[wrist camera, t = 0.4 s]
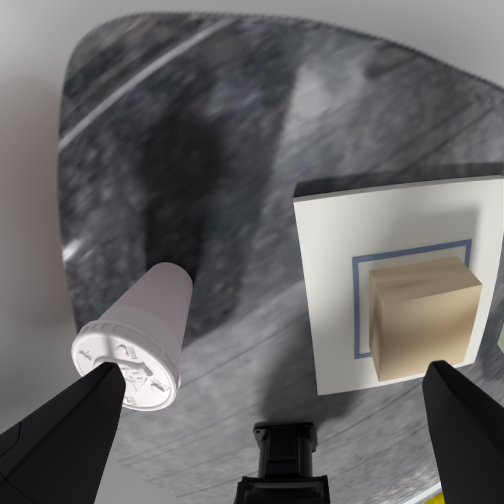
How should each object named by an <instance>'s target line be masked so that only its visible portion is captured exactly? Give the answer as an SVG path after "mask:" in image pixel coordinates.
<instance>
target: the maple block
mask: <svg viewBox="0 0 504 504" xmlns="http://www.w3.org/2000/svg"><path fill="white" fill-rule="evenodd" d="M369 275H370V321H369V348H370V352H371V355H372V359H373V362H374V366H375V370H376V373H377V377H378V381H379V382H383V381H388V380H393V379H398V378H402V377H407V376H412V375H416V374H420V373H424V372H426V371H427V369H428V366H429V364H430V363H431V362H432V361H436V360H445V361H446V362H448V363H449V364H450V365H451V366H452V365H455V364H459V363H462V362H464V358H465V355H466V352H467V348H468V345H469V341H470V338H471V334H472V330H473V326H474V322H475V318H476V314H477V310H478V305H479V300H480V296H481V291H482V285H483V284H482V283H481V282H480V281H479V280H478V279H477V277H476V276H475V275H474V274H473V273H472V272H471V271H470V270H469V269H468V267H467V266H466V265H465V264H464V263H463V262H462V261H461V260H460V259H459V258H458V257H457V256H454V257H449V258H443V259H438V260H432V261H426V262H420V263H414V264H408V265H402V266H396V267H390V268H384V269H377V270H371V271H369Z"/></svg>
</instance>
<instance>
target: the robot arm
mask: <svg viewBox="0 0 504 504" xmlns="http://www.w3.org/2000/svg"><path fill="white" fill-rule="evenodd" d="M422 389H423V395H424V401H425V407H426V413H427V420H428V427H429V433H430V437H431V441H432V445H433V449H434V454H435V458H436V462H437V467H438V471H439V476H440V481H441V486H442V491H443V497H444V502H445V504H504V408H503V407H502V406H501V405H500V404H499V403H497V402H496V401H495V400H494V399H492V398H491V397H490V396H489V395H488V394H486V393H485V392H484V391H483V390H481V389H480V388H479V387H478V386H476V385H475V384H474V383H473V382H471V381H470V380H469V379H468V378H466V377H465V376H464V375H463V374H461V373H460V372H459V371H458V370H456V369H455V368H454V367H453V366H451V365H450V364H449V363H448V362H446V361H445V360H436V361H432V362H431V363H430V364H429V366H428V369H427V371H426V374H425V376H424V379H423V383H422ZM125 391H126V381H125V379H124V376H123V374H122V372H121V370H120V367H119V365H118V364H117V363H114V362H107V361H106V362H103V363H101V364H100V365H99V366H97V367H96V368H94V369H93V370H92V371H90V372H89V373H87V374H86V375H84V376H83V377H82V378H80V379H79V380H77V381H76V382H75V383H73V384H72V385H70V386H69V387H68V388H66V389H65V390H63V391H62V392H61V393H59V394H58V395H56V396H55V397H53V398H52V399H51V400H49V401H48V402H46V403H45V404H44V405H42V406H41V407H39V408H38V409H37V410H35V411H34V412H33V413H31V414H29V415H28V416H27V417H25V418H24V419H22V421H19V422H18V423H17V424H15V425H14V426H12V427H11V428H9V429H8V430H6V431H5V432H3V433H2V434H0V504H94V502H95V498H96V495H97V491H98V488H99V485H100V481H101V478H102V474H103V471H104V468H105V465H106V462H107V458H108V455H109V452H110V449H111V446H112V443H113V440H114V437H115V434H116V430H117V427H118V422H119V418H120V413H121V408H122V404H123V399H124V395H125ZM253 433H254V435H255V438H256V441H257V443H258V446H259V448H260V458H259V470H258V478H254V477H247V476H243V477H242V481H241V482H238V487H237V494H236V498H235V501H234V503H233V504H330V495H329V486H328V478H327V475H322V476H319V477H313V475H312V453H313V452H315V451H316V444H315V434H314V425H313V424H312V423H302V424H291V425H278V426H261V427H254V428H253Z"/></svg>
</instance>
